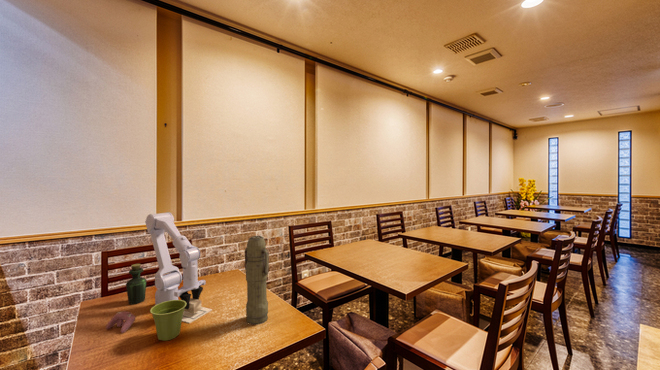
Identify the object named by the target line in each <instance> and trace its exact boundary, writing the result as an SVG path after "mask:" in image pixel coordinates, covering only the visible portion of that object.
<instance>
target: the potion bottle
mask: <svg viewBox="0 0 660 370" xmlns="http://www.w3.org/2000/svg"><path fill="white" fill-rule="evenodd" d="M141 266H142V264H141V263H135V264H131V266H130V267H131V269H130V270H129V271H128V274H129V275H131V277H132V278H131V279H129V280H128V281H127V282H126V284H125V288H126V294H127V296H126V297H127V301H128V304H129V305H137V304H138V305H139V304H142V303H143V302H144V301H145V300H146V290H147V279H146V278H144V277H141V275H142V274H141V273H143V272H144V268H142V267H141Z"/></svg>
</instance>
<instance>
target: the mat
mask: <svg viewBox="0 0 660 370" xmlns="http://www.w3.org/2000/svg"><path fill="white" fill-rule="evenodd" d="M212 311H213V309H212V308H207V307H204V306H202V309H201V310H199V311H198V312H196V313H190V312H186V311H184V312H183V317H182V322H183V323H186V324H191V323H193V322H195V321H196V320H198V319H199V318H201V317H203V316H204V315H207V314H208V313H210V312H212Z"/></svg>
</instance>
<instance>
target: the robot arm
mask: <svg viewBox="0 0 660 370" xmlns="http://www.w3.org/2000/svg"><path fill="white" fill-rule="evenodd" d="M145 226H146V230H147V233H148V234H149V235H150V238H151V242H152V244H153V249H154V252H155V253H154V254H155V257H156V260H157V265H158V268H159V269H158V271H157V272H156V273H155V274H154V280H155V281H154V285H155V286H154V287H155V288H156V291H155V294H154V299H155V300H154V302H155V304H154V306H155V305H157V304H159V303H162V302H165V301H170V300H183V301H185V302H186V303H187V304H186V306H185V308H184V309H189V305H190V298H191V297H192V298H193V299H197V300H200V297H201V294H202V292H203V291H204V287H203V286H205V285H206V280H205V279H201V280H198V279H199V278H198V273H199V272H198V271H199V270H198V266H199V265H198V260H199V259H200V258H201V251H200V248H199V247H197V246H195V245H193V244H191V241H189V239H188V238H187V237H186V236H185V235H182V234H181V233H180V231H179V230H178V227H177V225H176V224H175V217H174V215H173V214H172V212H169V211H167V212H161V213H160V212H159V213H153V214H152V213H150V214H148V215H147V216H146V219H145ZM165 232H166V234H168V236H169V237H171V239H172V245H173V246H174V248H175V249H176V251H177V252H178V253H179V261H180V264H181V265H180V266H181V267H182V273H181V271H180V270H179V267H177V266H175V265H173V263H172V259H171V256H170V253H169V248H168V245H167V244H168V243H167V240H166V238H165ZM182 282H183V283H182ZM181 283H182V284H183V285H182V286H181V287H180V284H181ZM179 287H180V288H179ZM190 291H191V293H189V292H190Z"/></svg>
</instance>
